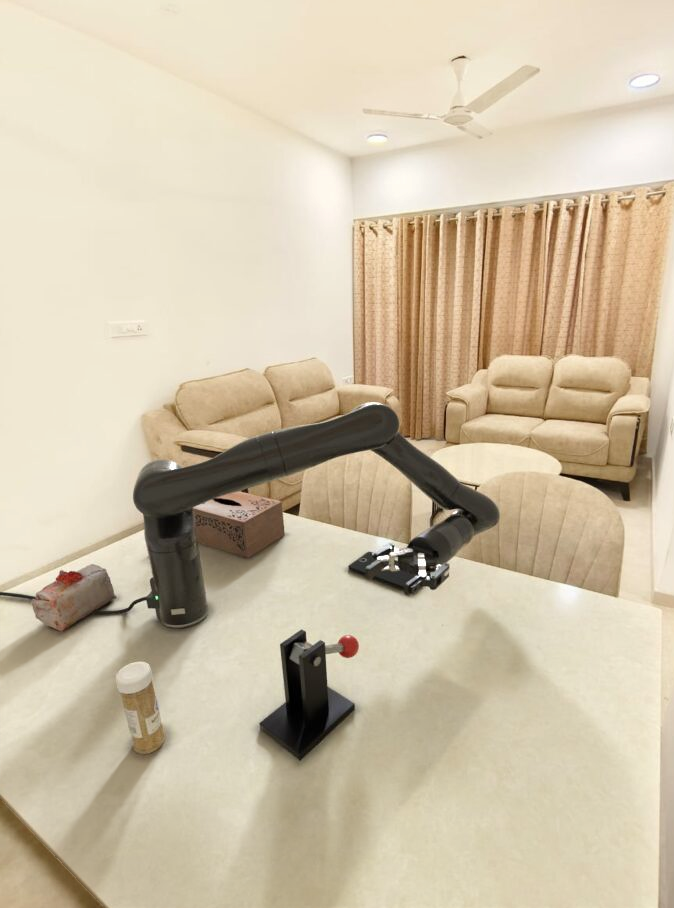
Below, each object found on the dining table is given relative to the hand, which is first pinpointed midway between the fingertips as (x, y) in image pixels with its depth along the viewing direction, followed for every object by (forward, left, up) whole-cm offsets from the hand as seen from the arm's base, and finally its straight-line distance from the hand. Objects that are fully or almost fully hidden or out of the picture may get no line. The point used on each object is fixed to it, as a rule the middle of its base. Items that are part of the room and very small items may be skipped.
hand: (386, 582), depth 87 cm
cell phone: (-7, +26, -15) cm, 31 cm away
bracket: (-7, -19, -15) cm, 25 cm away
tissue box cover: (-54, +32, -15) cm, 65 cm away
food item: (-65, -8, -15) cm, 67 cm away
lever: (-6, -15, -6) cm, 17 cm away
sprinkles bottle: (-28, -30, -15) cm, 44 cm away
